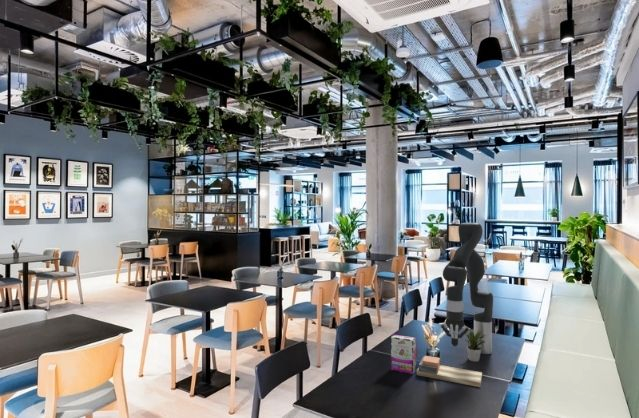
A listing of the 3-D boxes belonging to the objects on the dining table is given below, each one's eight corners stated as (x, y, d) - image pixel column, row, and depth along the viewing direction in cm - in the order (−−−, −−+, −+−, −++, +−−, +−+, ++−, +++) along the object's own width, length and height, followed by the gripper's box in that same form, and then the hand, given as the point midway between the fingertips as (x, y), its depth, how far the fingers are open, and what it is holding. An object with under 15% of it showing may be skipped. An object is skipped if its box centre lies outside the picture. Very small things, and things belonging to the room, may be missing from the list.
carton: (424, 364, 195) (425, 355, 195) (439, 367, 192) (439, 357, 192) (422, 370, 188) (422, 360, 188) (437, 372, 186) (437, 363, 186)
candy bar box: (415, 371, 192) (416, 337, 192) (413, 374, 188) (413, 340, 188) (393, 366, 197) (393, 333, 197) (390, 370, 193) (390, 336, 193)
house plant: (484, 368, 196) (484, 335, 195) (456, 361, 204) (456, 330, 204) (491, 359, 207) (492, 328, 207) (464, 353, 215) (465, 323, 215)
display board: (421, 365, 198) (421, 355, 198) (482, 376, 186) (482, 366, 186) (416, 374, 188) (416, 364, 188) (480, 387, 175) (480, 375, 175)
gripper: (470, 308, 186) (470, 345, 186) (441, 305, 192) (441, 341, 192) (468, 312, 179) (468, 350, 180) (438, 309, 185) (438, 346, 185)
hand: (454, 345), depth 186 cm, fingers closed
